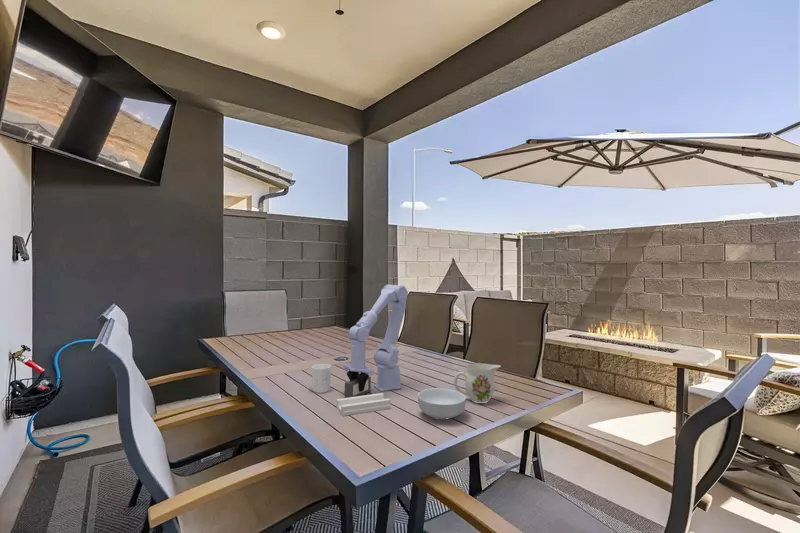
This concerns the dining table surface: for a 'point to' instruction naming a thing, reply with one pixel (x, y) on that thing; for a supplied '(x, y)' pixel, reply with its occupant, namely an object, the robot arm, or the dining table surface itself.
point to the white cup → (321, 377)
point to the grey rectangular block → (356, 388)
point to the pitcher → (478, 381)
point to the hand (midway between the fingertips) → (358, 390)
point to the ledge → (362, 404)
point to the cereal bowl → (441, 402)
